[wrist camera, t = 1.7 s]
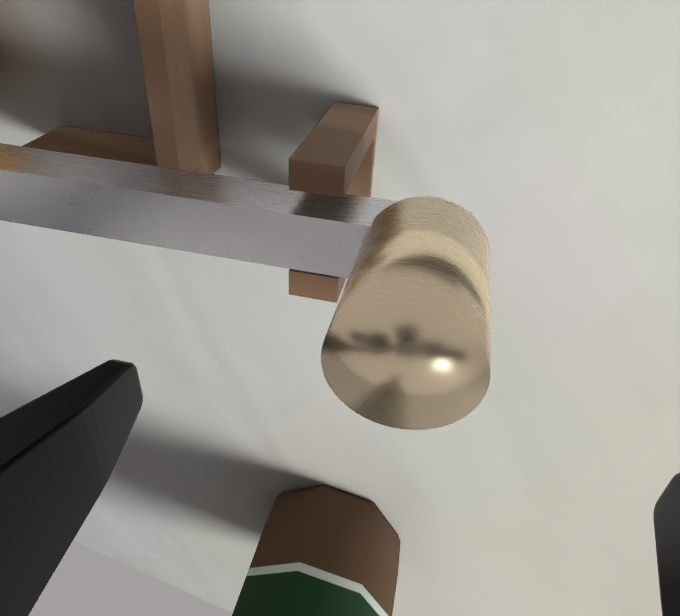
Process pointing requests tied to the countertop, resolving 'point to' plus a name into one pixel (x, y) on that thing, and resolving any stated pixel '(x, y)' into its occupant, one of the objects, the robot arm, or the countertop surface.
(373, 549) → the beer bottle
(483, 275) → the rod
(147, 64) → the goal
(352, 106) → the block
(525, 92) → the countertop surface
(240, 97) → the countertop surface
